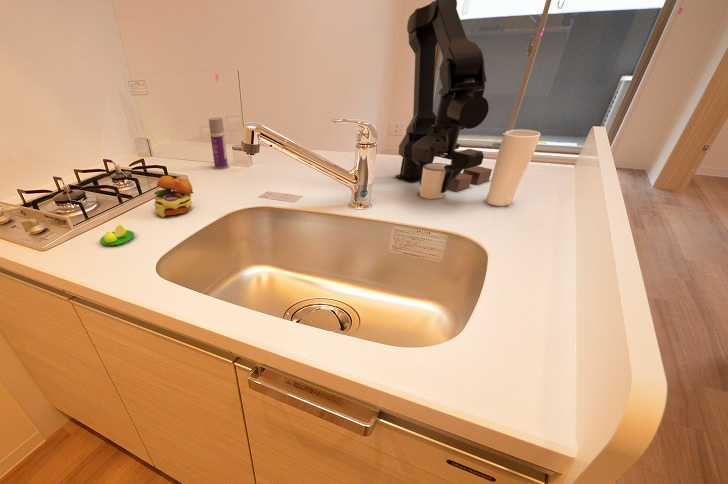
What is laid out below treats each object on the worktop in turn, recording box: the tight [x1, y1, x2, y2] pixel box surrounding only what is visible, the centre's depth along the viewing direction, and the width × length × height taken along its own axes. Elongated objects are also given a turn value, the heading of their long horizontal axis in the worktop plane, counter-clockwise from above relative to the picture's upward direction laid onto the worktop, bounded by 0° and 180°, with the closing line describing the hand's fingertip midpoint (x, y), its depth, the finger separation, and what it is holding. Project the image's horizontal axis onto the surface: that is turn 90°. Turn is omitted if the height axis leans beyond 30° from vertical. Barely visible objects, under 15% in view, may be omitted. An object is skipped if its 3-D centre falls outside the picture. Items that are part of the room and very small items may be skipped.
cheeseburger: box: [153, 175, 195, 218], centre depth 98 cm, size 10×11×10 cm
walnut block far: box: [462, 165, 493, 186], centre depth 100 cm, size 5×5×3 cm
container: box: [208, 116, 229, 170], centre depth 124 cm, size 5×5×15 cm
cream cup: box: [419, 162, 449, 200], centre depth 93 cm, size 7×7×7 cm
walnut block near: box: [447, 172, 472, 192], centre depth 97 cm, size 5×5×3 cm
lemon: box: [99, 224, 135, 246], centre depth 87 cm, size 8×8×3 cm
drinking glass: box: [485, 129, 541, 207], centre depth 83 cm, size 7×7×15 cm
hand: (432, 189), depth 94 cm, fingers closed on cream cup, 6 cm apart
